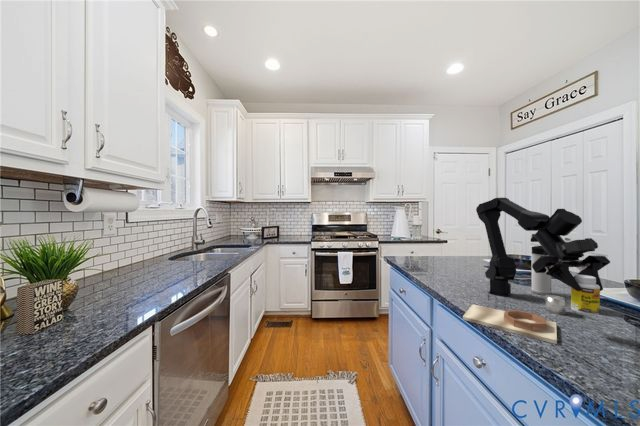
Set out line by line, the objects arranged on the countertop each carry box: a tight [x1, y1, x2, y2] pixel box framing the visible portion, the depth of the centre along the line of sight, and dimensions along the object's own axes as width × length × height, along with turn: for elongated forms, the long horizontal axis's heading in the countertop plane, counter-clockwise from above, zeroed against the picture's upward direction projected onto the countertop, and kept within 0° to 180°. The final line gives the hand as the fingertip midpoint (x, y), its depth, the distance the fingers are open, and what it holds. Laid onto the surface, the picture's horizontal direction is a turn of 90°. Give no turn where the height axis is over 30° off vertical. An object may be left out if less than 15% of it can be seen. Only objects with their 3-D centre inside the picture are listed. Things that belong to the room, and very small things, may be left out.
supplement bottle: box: [570, 274, 601, 316], centre depth 70 cm, size 6×6×10 cm
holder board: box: [462, 303, 558, 345], centre depth 78 cm, size 22×14×3 cm, turn 47°
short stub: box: [544, 294, 567, 316], centre depth 86 cm, size 5×5×5 cm
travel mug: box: [531, 245, 552, 297], centre depth 104 cm, size 6×7×20 cm
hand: (590, 290), depth 69 cm, fingers closed on supplement bottle, 5 cm apart
